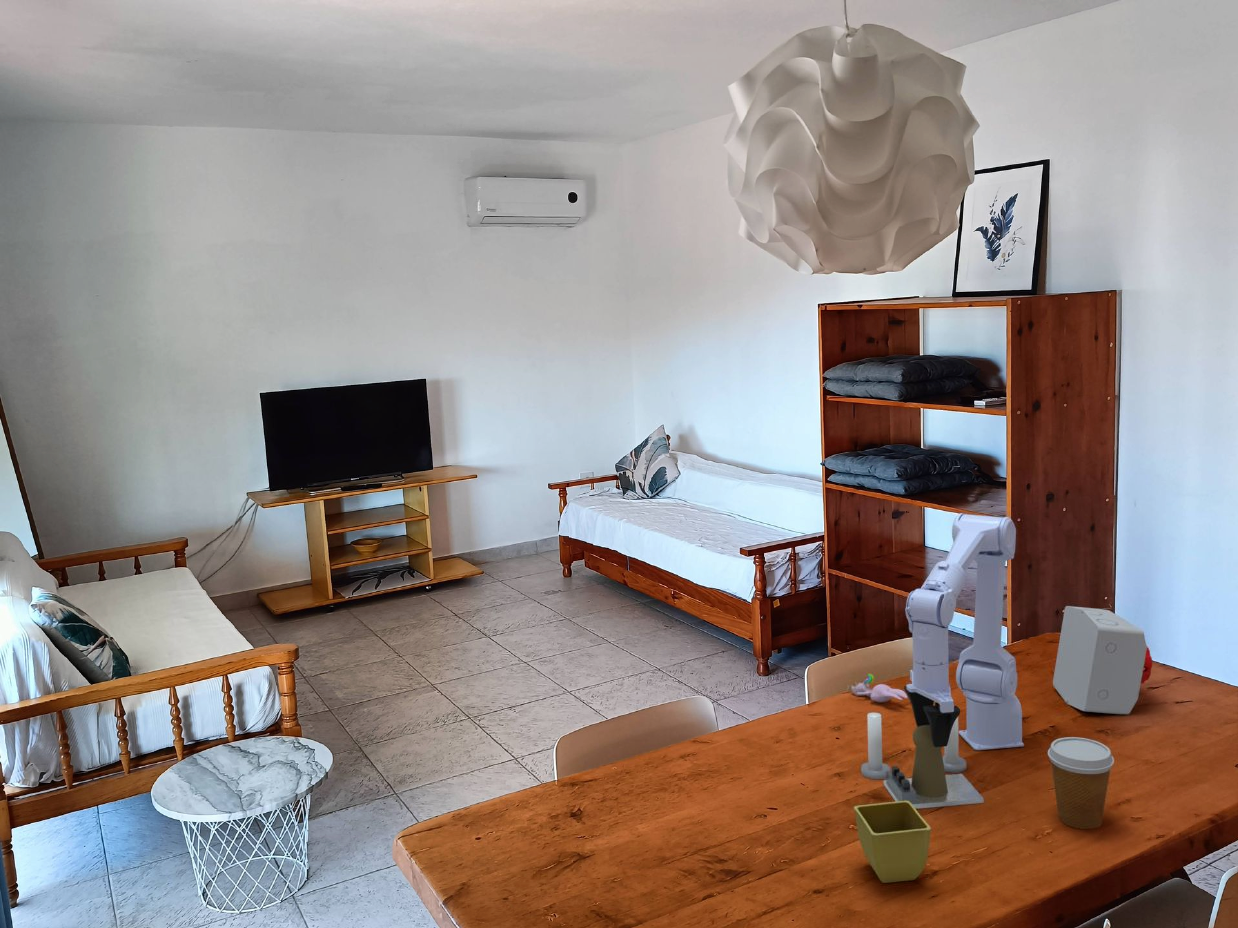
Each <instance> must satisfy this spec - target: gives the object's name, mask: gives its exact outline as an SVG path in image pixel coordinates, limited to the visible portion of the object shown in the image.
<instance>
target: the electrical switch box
mask: <svg viewBox="0 0 1238 928" xmlns="http://www.w3.org/2000/svg"><path fill="white" fill-rule="evenodd" d="M1152 668H1153V657H1152V656H1151V651H1150V648H1149V647H1148V646H1147V642H1146V638H1145V632H1144V630H1142V629H1141V628H1139V627H1138V626H1136V625H1134V624H1133V623H1131V622H1129V621H1127V620H1126V619H1124V618H1122V617H1121V616H1120V615H1117V614H1116V613H1114V612H1112V611H1111V610H1108V609H1104V608H1103V609H1102V608H1093V607H1092V608H1091V607H1084V606H1083V607H1080V606H1071V605H1066V606H1065V607H1064V612H1063V619H1062V624H1061V631H1060V637H1059V642H1058V648H1057V654H1056V661H1055V666H1054V672H1053V673H1054V674H1053V679H1052V685H1053V687H1054V689H1056V691H1057V693H1058V694H1059V695H1060V696H1061V698H1062V699H1063V700H1064V702H1065V703H1066V704H1067V705H1068V706H1072V707H1073V708H1076V709H1078V710H1080V711H1082V712H1087V713H1088V712H1089V713H1091V712H1092V713H1103V714H1114V715H1130V714H1131V711H1133V708H1134V707H1135V705H1136V703H1137V701H1138V699H1139V695H1140V690H1141V689H1140V688H1141V684H1145V683H1146V681H1148V680H1149V679H1150V677H1151V675H1152V673H1151V672H1152Z"/></svg>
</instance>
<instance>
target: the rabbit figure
mask: <svg viewBox="0 0 1238 928" xmlns="http://www.w3.org/2000/svg"><path fill="white" fill-rule="evenodd" d="M867 676H868V678H866V679H865V680H864V681H863V682H860V681H859V682H858V683H857V682H855V686H854V685H852V684H851V685H847V689H846V690H847V691H846V692H848V693H849V692H850V691H852V693H853V695H854V696H857V697H861V696H862V697H864V696H867V697H870V699H871V700H872V701H873V702H876V703H880V704H881V703H883V702H888V701H889V700H891V699H892V698H895V699H896V700H898V701H903V698H904V699H906V700H907V699H908V695H907V693H906V692H905V690H901V689H899V688H891V687H890V686H889V685H887V684H884V683H880V684H877V685H875V686H874V687H873V688H871V687H870V684H871V685H872V684H873V683H874V682H875V676H874V675H873V674H872V673H868V674H867Z"/></svg>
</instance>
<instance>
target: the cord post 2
mask: <svg viewBox="0 0 1238 928" xmlns="http://www.w3.org/2000/svg"><path fill="white" fill-rule="evenodd" d="M943 749H944V755H942V757H943V763H944V770H945V773H949V772H950V774H961V773H964V772H965V771H966V770H967V760H966V759H964V758H963V757H960V756H959V716H958V717H957V719H956V720H955V722H954V724H953V727H952V729H951V733H950V737H949V741H948V744H947V746H945V747H944V748H943Z"/></svg>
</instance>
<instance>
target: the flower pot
mask: <svg viewBox="0 0 1238 928" xmlns="http://www.w3.org/2000/svg"><path fill="white" fill-rule="evenodd" d="M853 810H854V815H855V816H854V817H855V823H856V829H857V835H858V840H859V843H860V846H861V848H862V850H863V853H864V856H865V858H866V859H867V862H868V863H869V865H870V866H871V868H872V870H873V871H874V872H875V874H876V876H877V878H878V879H879V881H880V882H881V883H883V884H888V883H897V882H905V881H914V880H916V879H917V878H918V877H919V876H920V874H921V873H922V871H923V870H924V868H925V866H926V863H927V861H928V856H929V849H930V848H929V847H930V839H931V831H932V827H931V826H930V825H929V823H927V821H926V820H925V819H924V818H923V817H922V816H921V815H920V813H919V811H918V810H917V809H915V808H914V806H913V805H912V804H911V803H910V802H909V801H897V802H896V801H890V802H889V801H888V802H881V803H869V804H862V805H860V804H859V805H855V806H854V807H853Z"/></svg>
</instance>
